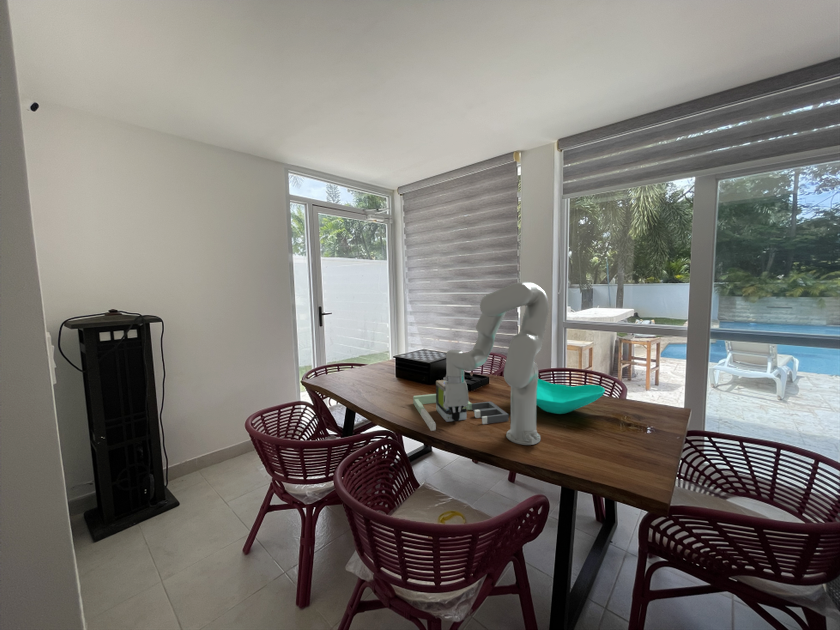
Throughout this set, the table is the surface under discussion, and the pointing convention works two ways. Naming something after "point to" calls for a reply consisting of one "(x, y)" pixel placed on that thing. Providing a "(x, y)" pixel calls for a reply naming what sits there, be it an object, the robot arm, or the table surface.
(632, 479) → the table surface
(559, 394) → the table top decor
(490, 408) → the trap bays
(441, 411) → the tea box
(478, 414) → the lane
